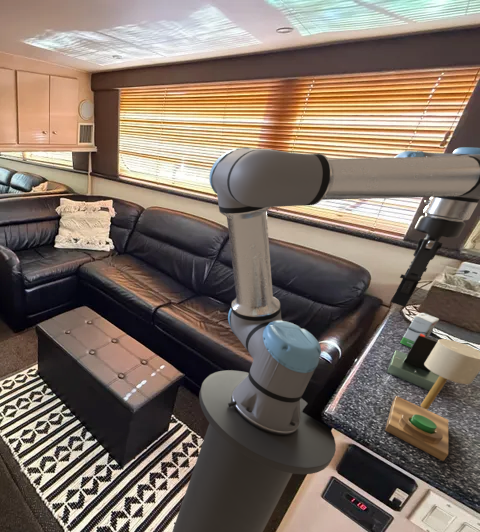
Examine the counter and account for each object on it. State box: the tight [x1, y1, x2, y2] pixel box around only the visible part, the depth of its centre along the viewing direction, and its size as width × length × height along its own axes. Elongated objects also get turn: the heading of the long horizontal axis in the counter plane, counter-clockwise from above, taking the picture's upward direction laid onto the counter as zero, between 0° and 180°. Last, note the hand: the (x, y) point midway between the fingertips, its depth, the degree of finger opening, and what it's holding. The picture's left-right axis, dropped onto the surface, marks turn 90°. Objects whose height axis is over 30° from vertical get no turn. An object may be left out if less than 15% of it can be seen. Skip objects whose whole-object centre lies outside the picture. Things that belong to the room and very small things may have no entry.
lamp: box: [420, 338, 480, 410], centre depth 78 cm, size 8×8×18 cm
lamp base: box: [384, 395, 449, 462], centre depth 78 cm, size 16×10×4 cm, turn 131°
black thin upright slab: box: [404, 334, 439, 372], centre depth 98 cm, size 6×2×10 cm, turn 41°
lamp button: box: [410, 414, 437, 434], centre depth 75 cm, size 4×4×2 cm
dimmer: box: [386, 349, 439, 392], centre depth 101 cm, size 14×11×3 cm
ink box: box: [399, 312, 440, 349], centre depth 117 cm, size 9×5×12 cm, turn 120°
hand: (400, 297), depth 82 cm, fingers open, 13 cm apart
